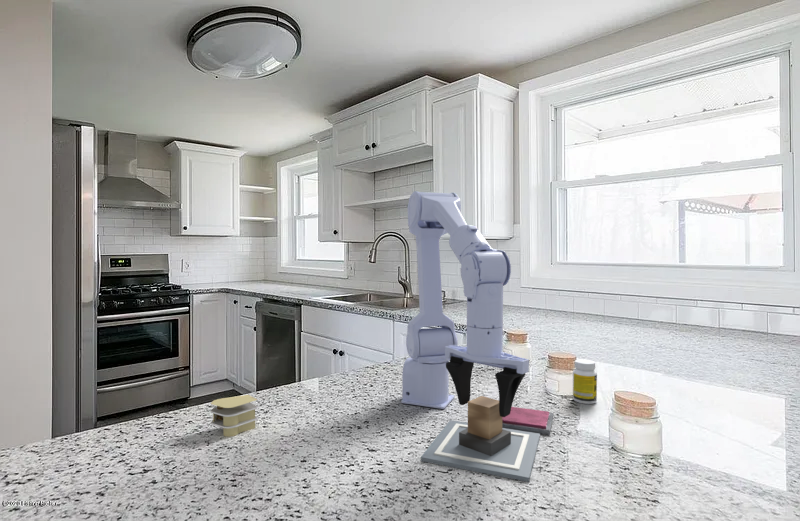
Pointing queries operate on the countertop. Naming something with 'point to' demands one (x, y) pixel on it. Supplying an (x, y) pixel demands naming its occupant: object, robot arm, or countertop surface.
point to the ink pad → (528, 420)
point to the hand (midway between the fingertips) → (484, 409)
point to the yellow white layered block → (234, 414)
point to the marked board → (504, 463)
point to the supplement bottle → (585, 382)
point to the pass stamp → (484, 427)
